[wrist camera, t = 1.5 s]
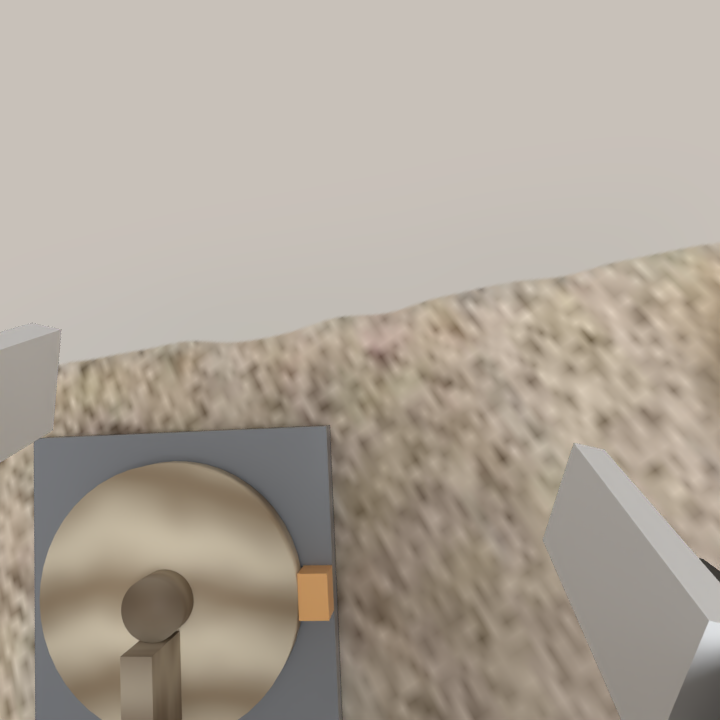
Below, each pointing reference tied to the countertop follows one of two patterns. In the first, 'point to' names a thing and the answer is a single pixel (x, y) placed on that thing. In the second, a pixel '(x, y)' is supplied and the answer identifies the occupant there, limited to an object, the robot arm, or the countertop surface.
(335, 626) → the dial base
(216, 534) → the beige rotary knob
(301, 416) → the countertop surface
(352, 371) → the countertop surface
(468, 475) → the countertop surface
